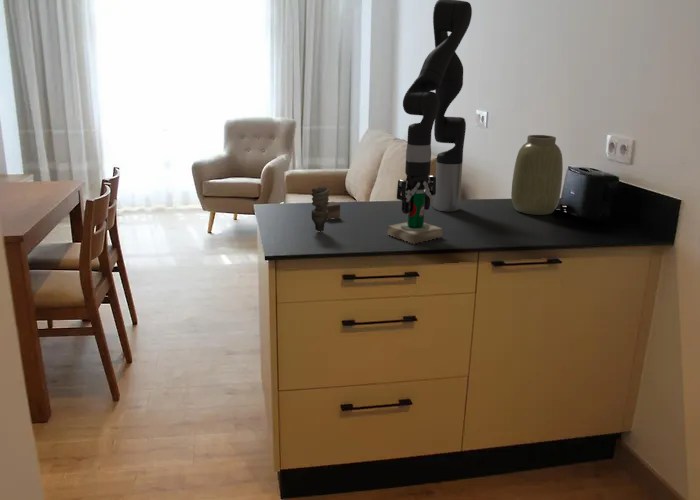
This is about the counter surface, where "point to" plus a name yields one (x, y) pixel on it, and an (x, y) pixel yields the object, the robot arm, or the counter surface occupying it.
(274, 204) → the counter surface
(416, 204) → the soda can
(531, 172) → the vase
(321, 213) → the light bulb
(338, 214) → the walnut cube
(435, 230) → the pedestal
